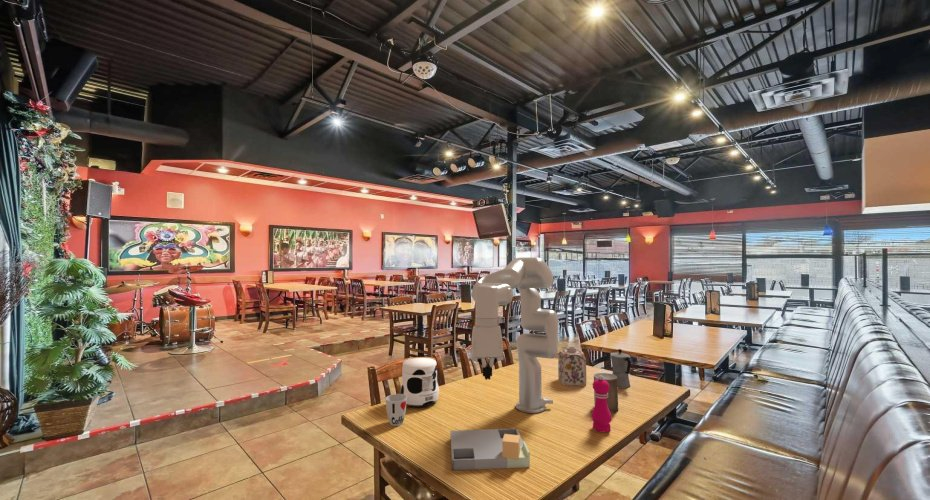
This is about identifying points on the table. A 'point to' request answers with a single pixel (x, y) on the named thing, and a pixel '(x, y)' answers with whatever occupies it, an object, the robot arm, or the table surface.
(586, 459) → the table surface
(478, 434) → the grey sorting tray
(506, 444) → the block
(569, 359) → the decorative jar
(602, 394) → the pepper mill
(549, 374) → the table surface
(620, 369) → the coffeepot
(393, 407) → the cup
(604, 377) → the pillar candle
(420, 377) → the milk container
